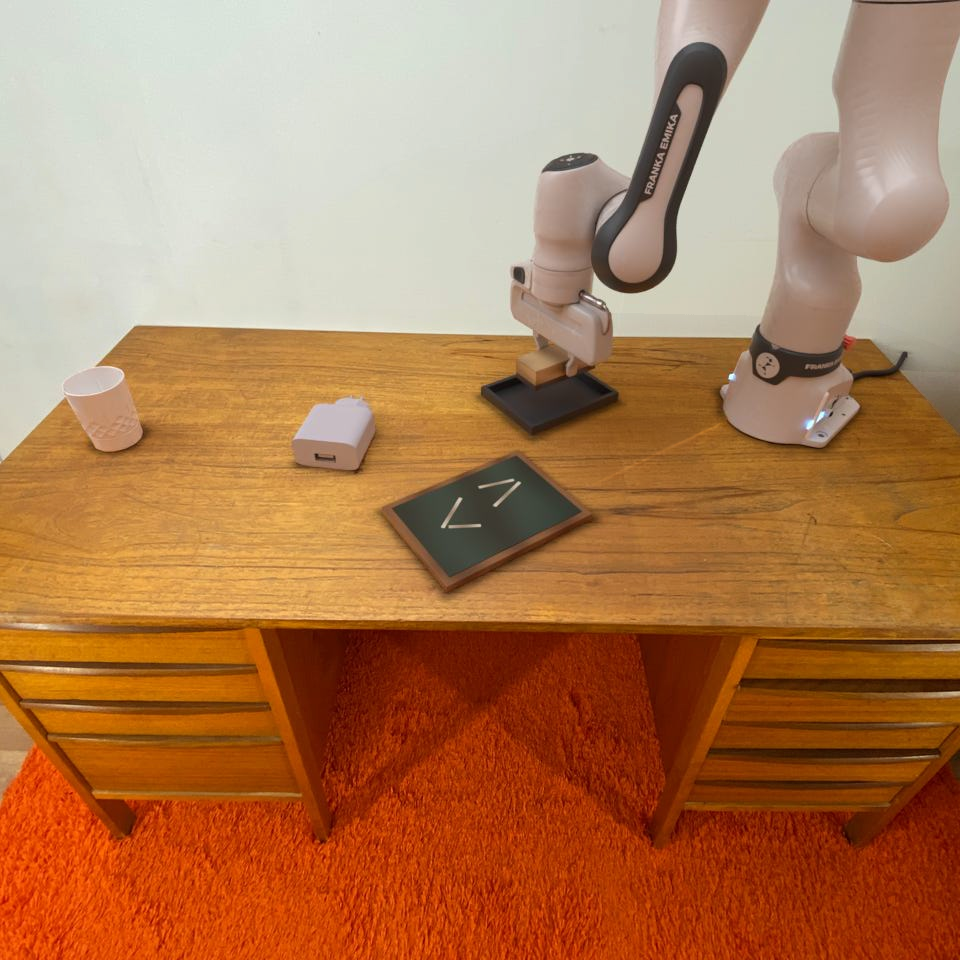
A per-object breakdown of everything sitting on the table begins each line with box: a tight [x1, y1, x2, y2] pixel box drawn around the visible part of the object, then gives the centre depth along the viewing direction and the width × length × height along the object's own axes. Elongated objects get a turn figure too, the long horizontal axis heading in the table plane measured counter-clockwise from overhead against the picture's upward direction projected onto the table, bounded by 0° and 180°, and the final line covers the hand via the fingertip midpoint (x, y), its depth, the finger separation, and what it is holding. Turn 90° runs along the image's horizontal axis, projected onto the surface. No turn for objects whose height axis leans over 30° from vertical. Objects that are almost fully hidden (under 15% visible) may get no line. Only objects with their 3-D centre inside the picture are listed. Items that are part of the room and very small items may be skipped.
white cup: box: [60, 365, 144, 453], centre depth 91 cm, size 8×8×10 cm
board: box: [381, 450, 594, 593], centre depth 82 cm, size 22×16×1 cm
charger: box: [290, 394, 377, 471], centre depth 94 cm, size 5×9×15 cm
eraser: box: [515, 343, 597, 391], centre depth 99 cm, size 12×5×4 cm, turn 123°
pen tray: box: [480, 371, 620, 436], centre depth 103 cm, size 18×14×2 cm
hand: (556, 365), depth 100 cm, fingers closed on eraser, 5 cm apart
